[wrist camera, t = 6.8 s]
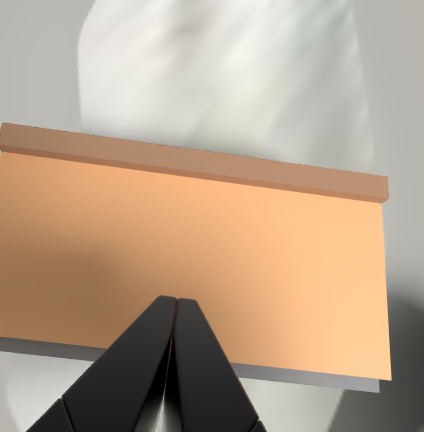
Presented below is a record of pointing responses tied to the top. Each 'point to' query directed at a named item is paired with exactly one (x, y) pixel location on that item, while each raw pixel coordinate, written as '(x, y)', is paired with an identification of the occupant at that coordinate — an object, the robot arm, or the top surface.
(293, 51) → the top surface
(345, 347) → the duct cover
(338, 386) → the cable duct
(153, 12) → the top surface
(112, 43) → the top surface
